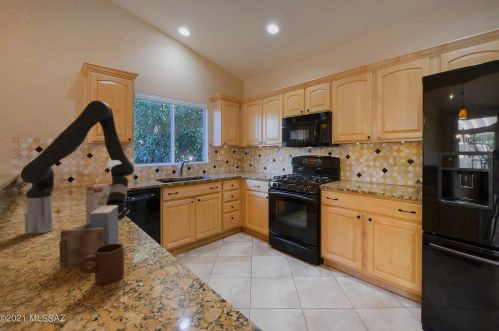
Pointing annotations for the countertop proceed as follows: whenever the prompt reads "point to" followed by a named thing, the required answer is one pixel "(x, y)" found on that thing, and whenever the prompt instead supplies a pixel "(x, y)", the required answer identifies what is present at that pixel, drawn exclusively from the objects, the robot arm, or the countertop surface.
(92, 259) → the mug
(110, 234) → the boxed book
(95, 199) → the cracker box
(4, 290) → the countertop surface
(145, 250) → the countertop surface
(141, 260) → the countertop surface
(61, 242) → the shelf corner
